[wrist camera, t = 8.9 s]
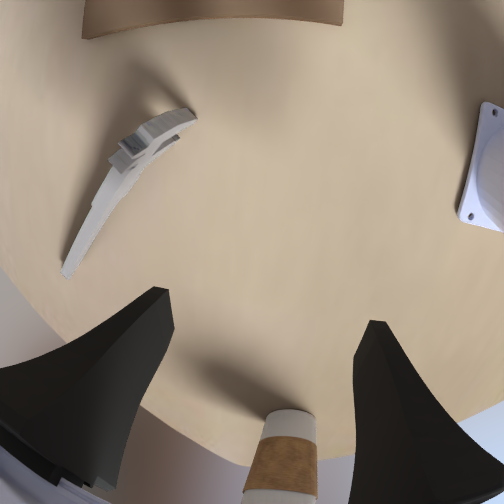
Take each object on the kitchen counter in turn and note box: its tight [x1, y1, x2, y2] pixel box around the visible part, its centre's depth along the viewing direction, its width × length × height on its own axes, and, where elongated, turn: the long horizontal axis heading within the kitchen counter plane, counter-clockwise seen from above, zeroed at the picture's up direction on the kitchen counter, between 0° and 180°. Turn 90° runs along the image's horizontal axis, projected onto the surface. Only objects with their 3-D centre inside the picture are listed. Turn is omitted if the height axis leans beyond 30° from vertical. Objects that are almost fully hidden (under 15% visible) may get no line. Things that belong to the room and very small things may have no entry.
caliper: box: [60, 108, 197, 280], centre depth 18 cm, size 20×1×6 cm, turn 133°
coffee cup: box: [241, 409, 317, 504], centre depth 24 cm, size 8×8×15 cm
